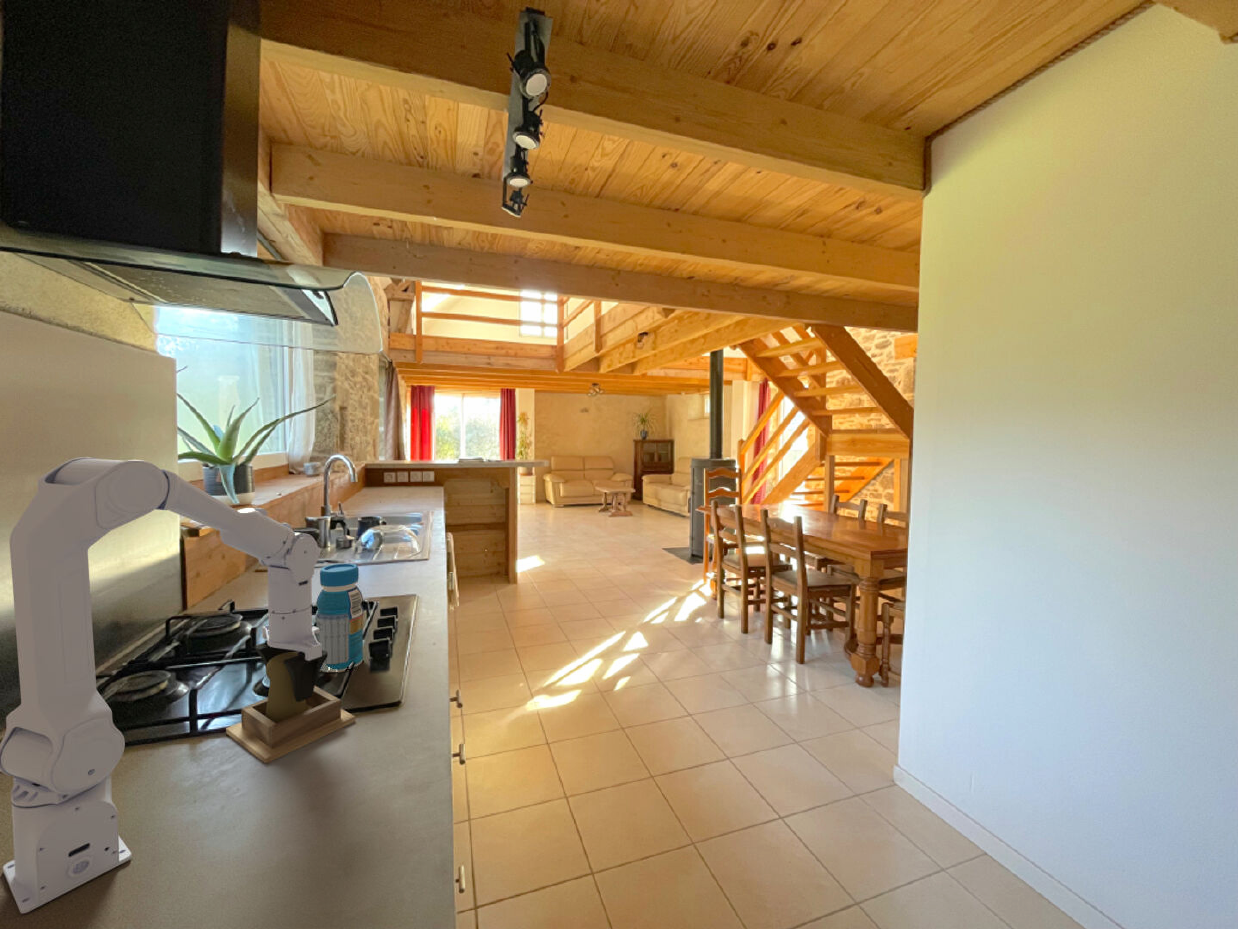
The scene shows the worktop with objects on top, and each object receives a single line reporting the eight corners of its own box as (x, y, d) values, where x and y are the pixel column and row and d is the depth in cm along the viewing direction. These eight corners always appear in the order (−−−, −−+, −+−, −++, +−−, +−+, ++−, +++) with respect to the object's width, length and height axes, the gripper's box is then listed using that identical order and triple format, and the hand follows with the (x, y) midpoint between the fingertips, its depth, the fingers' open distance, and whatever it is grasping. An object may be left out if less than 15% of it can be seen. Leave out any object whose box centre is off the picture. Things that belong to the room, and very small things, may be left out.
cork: (317, 714, 83) (317, 649, 82) (289, 736, 77) (288, 666, 76) (284, 711, 84) (283, 646, 83) (253, 732, 78) (252, 662, 77)
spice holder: (355, 721, 83) (354, 698, 83) (265, 764, 72) (265, 738, 72) (313, 697, 90) (313, 676, 90) (226, 733, 79) (225, 709, 79)
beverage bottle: (320, 679, 96) (319, 575, 95) (312, 663, 103) (311, 565, 102) (368, 667, 102) (367, 568, 101) (358, 652, 108) (357, 559, 107)
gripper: (341, 610, 79) (342, 694, 80) (294, 592, 87) (295, 669, 88) (292, 623, 73) (294, 715, 74) (247, 603, 81) (248, 686, 82)
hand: (291, 691), depth 80 cm, fingers open, 7 cm apart
